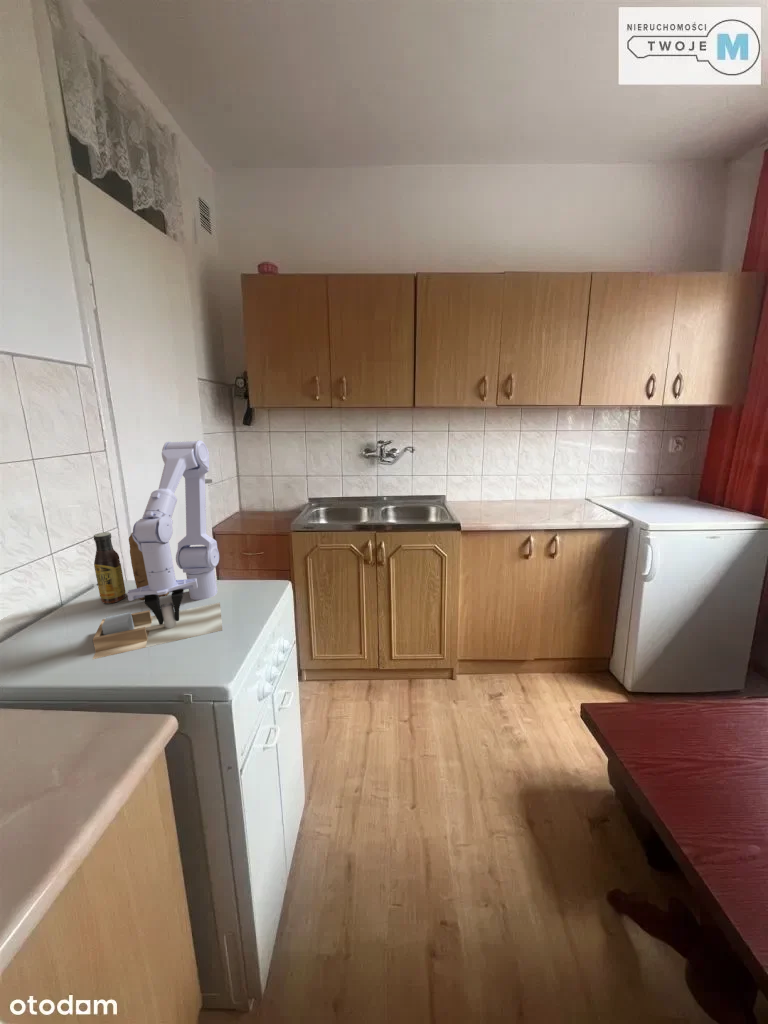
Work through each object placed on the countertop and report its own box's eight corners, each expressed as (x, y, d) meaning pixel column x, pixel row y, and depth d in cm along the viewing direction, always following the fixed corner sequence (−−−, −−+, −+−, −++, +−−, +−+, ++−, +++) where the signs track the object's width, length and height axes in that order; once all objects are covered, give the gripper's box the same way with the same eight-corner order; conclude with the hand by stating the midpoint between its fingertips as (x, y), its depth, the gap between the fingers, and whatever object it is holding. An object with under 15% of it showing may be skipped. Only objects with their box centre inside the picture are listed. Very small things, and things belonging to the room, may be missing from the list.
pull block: (110, 634, 99) (105, 612, 98) (177, 620, 104) (173, 599, 103) (105, 644, 95) (100, 622, 93) (175, 629, 100) (172, 608, 99)
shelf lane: (108, 630, 104) (105, 613, 103) (220, 607, 114) (218, 592, 112) (93, 665, 90) (89, 646, 89) (223, 635, 99) (220, 618, 98)
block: (166, 600, 119) (153, 533, 114) (137, 604, 118) (123, 536, 113) (174, 585, 129) (163, 522, 124) (148, 589, 128) (135, 525, 123)
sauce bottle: (96, 603, 119) (80, 536, 114) (115, 594, 125) (101, 530, 120) (114, 605, 117) (99, 538, 113) (132, 596, 123) (119, 531, 118)
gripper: (120, 580, 92) (132, 636, 95) (193, 568, 97) (202, 621, 100) (126, 569, 98) (137, 622, 102) (193, 558, 103) (202, 608, 107)
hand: (169, 620), depth 101 cm, fingers open, 3 cm apart
